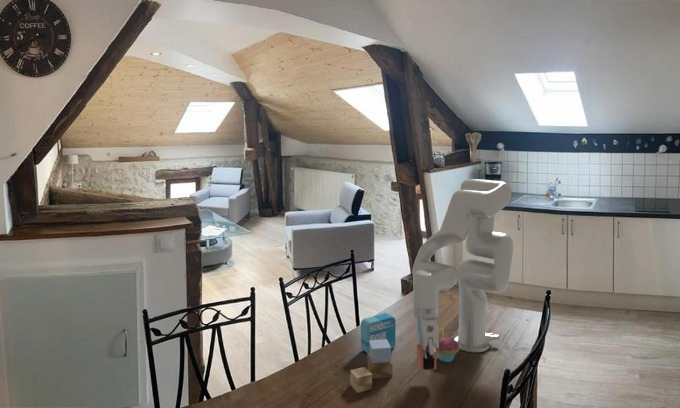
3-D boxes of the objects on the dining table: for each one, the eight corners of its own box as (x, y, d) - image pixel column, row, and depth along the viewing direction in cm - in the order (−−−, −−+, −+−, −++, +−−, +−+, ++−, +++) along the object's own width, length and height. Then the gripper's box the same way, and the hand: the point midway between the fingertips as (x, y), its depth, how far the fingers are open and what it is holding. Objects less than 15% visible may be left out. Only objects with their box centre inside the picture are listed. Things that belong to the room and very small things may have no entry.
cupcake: (444, 367, 164) (444, 333, 162) (428, 356, 172) (428, 323, 170) (464, 360, 168) (465, 327, 166) (447, 350, 176) (448, 318, 174)
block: (364, 381, 156) (364, 366, 155) (372, 389, 152) (372, 374, 151) (350, 385, 154) (350, 370, 153) (357, 393, 150) (357, 377, 149)
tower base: (388, 366, 165) (388, 352, 164) (392, 377, 158) (392, 363, 158) (367, 367, 165) (367, 353, 164) (370, 378, 158) (370, 364, 157)
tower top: (387, 353, 164) (387, 339, 163) (390, 362, 158) (390, 347, 157) (369, 354, 163) (369, 340, 162) (372, 363, 157) (372, 348, 157)
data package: (367, 356, 172) (367, 323, 170) (360, 351, 176) (360, 319, 174) (395, 347, 178) (395, 316, 176) (388, 342, 182) (388, 312, 180)
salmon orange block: (432, 360, 158) (432, 343, 157) (436, 369, 153) (436, 351, 152) (416, 362, 158) (416, 344, 156) (420, 370, 153) (420, 352, 152)
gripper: (446, 321, 143) (445, 378, 147) (431, 297, 160) (431, 349, 164) (420, 323, 143) (421, 380, 147) (408, 299, 160) (408, 351, 163)
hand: (426, 363), depth 155 cm, fingers closed on salmon orange block, 5 cm apart
